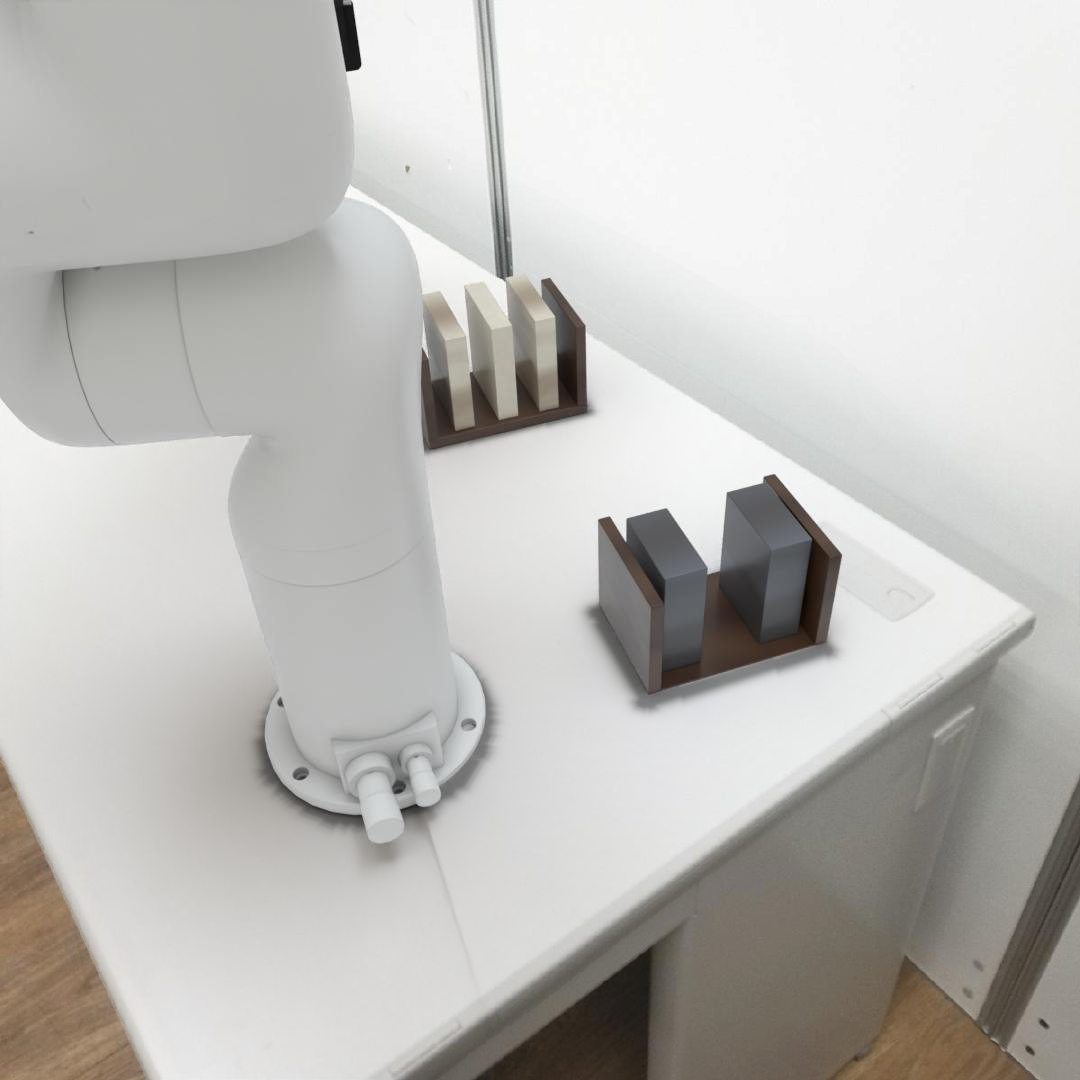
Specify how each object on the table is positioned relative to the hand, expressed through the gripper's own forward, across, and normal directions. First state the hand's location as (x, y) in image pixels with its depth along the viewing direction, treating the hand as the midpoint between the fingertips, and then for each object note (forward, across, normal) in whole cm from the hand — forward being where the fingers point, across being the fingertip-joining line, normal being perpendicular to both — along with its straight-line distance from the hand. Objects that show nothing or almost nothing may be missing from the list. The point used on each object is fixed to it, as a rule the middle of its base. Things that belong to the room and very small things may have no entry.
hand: (323, 49), depth 75 cm
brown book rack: (+26, +7, +8) cm, 28 cm away
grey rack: (+26, +36, +13) cm, 46 cm away
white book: (+26, +7, +8) cm, 28 cm away
